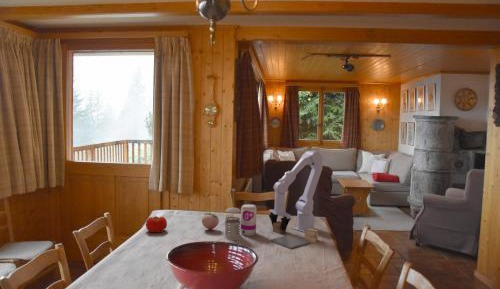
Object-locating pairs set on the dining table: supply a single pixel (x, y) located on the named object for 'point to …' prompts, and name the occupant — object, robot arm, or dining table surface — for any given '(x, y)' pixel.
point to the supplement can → (248, 219)
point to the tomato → (156, 224)
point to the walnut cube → (278, 227)
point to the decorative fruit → (210, 221)
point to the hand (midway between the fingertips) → (279, 228)
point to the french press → (232, 224)
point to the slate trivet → (290, 241)
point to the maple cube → (311, 235)
